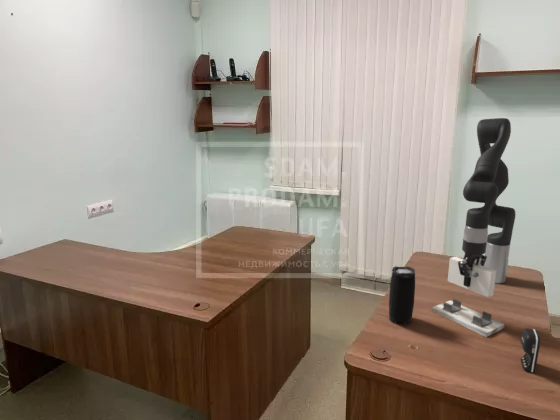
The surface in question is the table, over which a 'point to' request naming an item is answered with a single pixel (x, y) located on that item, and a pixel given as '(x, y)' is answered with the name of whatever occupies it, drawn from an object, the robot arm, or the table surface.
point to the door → (473, 277)
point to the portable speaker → (402, 294)
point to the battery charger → (530, 349)
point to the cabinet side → (468, 317)
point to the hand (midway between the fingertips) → (469, 284)
